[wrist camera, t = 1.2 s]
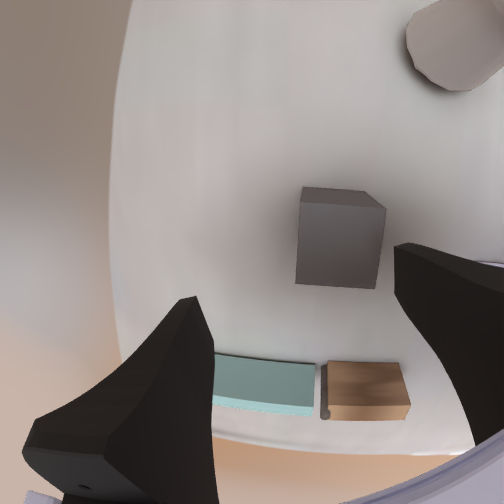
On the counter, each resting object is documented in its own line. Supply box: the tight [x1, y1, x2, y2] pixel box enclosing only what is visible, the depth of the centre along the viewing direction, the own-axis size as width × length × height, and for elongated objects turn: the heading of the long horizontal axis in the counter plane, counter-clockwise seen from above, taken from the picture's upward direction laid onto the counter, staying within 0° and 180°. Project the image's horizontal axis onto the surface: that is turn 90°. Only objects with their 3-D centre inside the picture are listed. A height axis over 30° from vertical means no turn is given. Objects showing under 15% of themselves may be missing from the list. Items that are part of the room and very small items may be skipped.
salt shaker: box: [406, 0, 504, 91], centre depth 9 cm, size 6×6×13 cm
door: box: [212, 354, 315, 416], centre depth 22 cm, size 10×2×5 cm, turn 89°
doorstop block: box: [295, 187, 386, 289], centre depth 17 cm, size 4×4×6 cm
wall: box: [320, 361, 411, 421], centre depth 22 cm, size 20×2×5 cm, turn 89°
